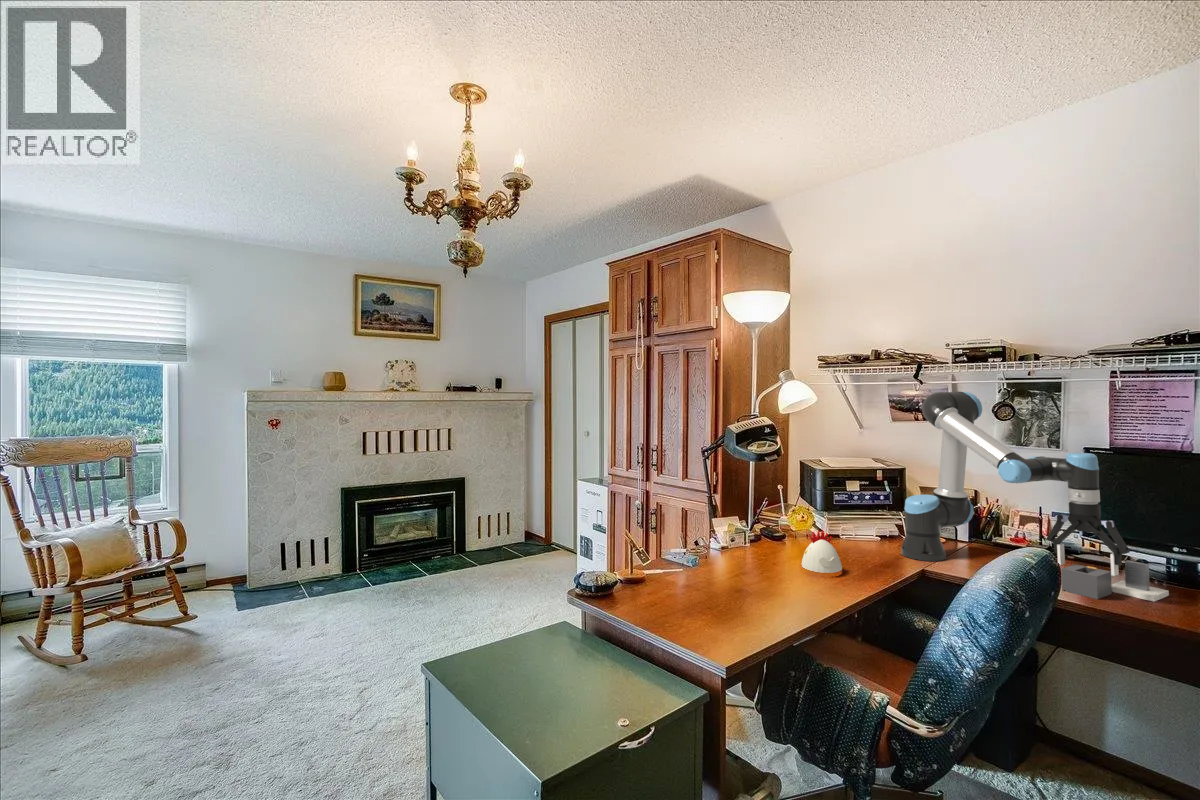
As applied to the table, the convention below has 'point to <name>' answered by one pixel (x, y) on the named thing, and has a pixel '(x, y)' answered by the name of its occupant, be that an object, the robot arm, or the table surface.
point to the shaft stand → (1138, 583)
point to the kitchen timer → (821, 555)
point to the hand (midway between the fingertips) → (1087, 569)
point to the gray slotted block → (1086, 581)
